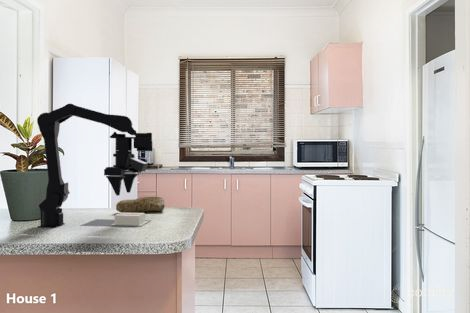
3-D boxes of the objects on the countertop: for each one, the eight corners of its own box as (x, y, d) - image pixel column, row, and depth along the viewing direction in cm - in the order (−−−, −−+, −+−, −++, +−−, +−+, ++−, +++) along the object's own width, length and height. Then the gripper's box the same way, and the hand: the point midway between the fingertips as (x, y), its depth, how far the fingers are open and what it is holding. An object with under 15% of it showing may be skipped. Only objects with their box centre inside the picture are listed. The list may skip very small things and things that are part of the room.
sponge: (161, 211, 174) (116, 204, 169) (165, 195, 173) (120, 187, 168) (162, 222, 161) (113, 214, 156) (166, 205, 160) (117, 196, 155)
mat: (79, 226, 134) (79, 225, 134) (96, 220, 146) (96, 218, 146) (140, 228, 132) (140, 226, 132) (152, 221, 144) (152, 220, 144)
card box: (139, 224, 135) (139, 215, 135) (114, 224, 136) (114, 215, 136) (145, 221, 141) (144, 212, 141) (121, 221, 142) (121, 212, 142)
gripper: (134, 151, 129) (134, 197, 129) (153, 151, 147) (153, 191, 148) (103, 151, 130) (103, 196, 131) (126, 150, 149) (125, 191, 149)
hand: (123, 193), depth 139 cm, fingers open, 9 cm apart
